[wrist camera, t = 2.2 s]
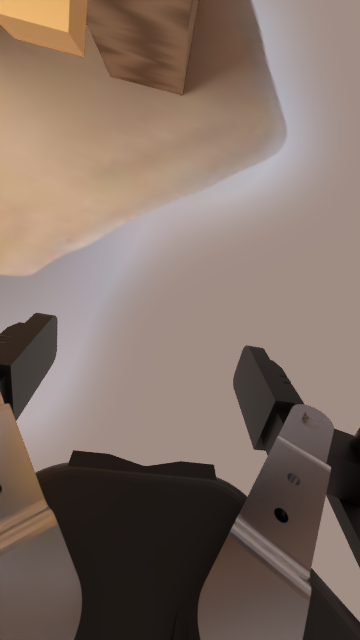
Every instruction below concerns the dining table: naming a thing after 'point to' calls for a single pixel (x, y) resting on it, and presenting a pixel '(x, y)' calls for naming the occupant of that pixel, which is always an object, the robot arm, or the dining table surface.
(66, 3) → the block
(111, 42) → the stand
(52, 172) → the dining table surface
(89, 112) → the dining table surface
